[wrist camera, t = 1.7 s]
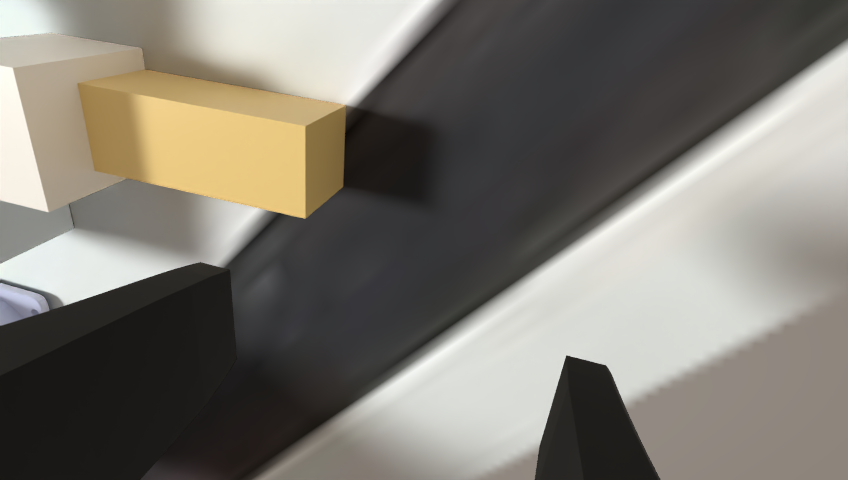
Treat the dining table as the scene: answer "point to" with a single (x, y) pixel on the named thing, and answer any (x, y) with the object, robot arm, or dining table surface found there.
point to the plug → (155, 131)
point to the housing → (29, 227)
